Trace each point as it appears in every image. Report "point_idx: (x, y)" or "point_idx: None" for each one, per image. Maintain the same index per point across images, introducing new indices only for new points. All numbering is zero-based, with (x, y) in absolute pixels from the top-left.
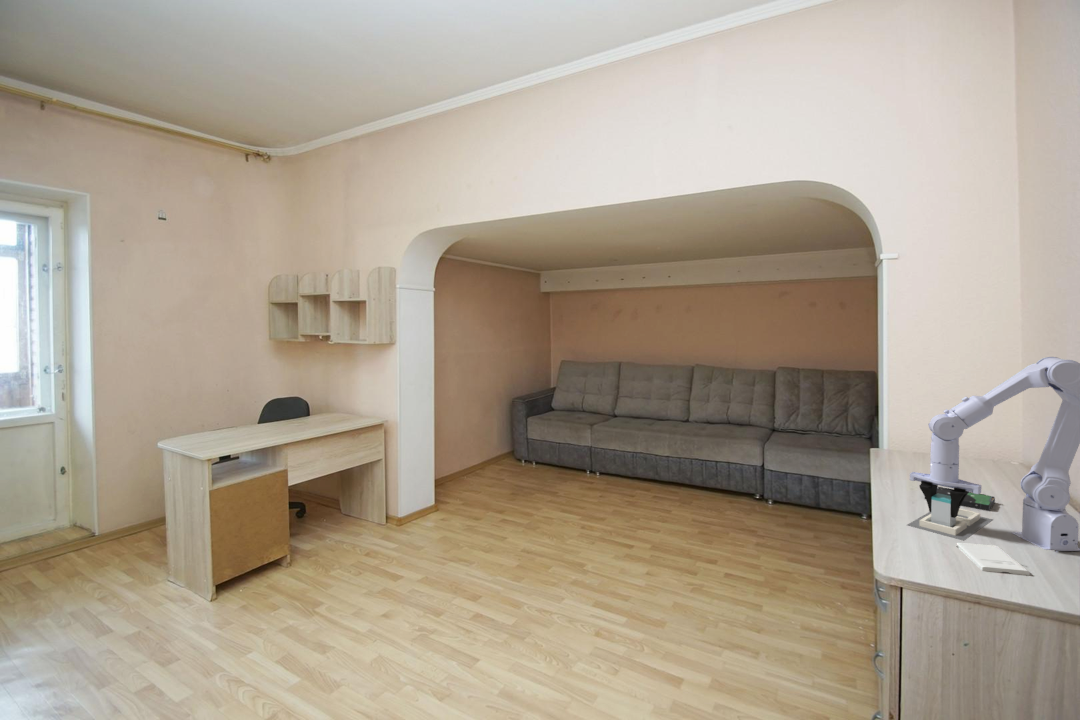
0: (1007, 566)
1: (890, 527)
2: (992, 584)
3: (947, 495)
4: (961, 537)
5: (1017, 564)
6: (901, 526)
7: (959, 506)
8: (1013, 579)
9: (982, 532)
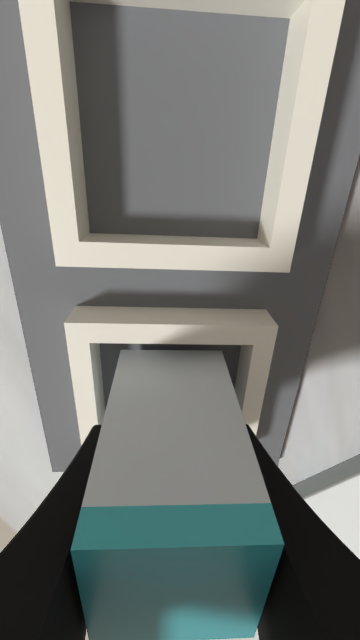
0: None
1: (22, 502)
2: None
3: (185, 550)
4: (265, 447)
5: None
6: (40, 469)
7: (286, 490)
8: None
9: (334, 283)
